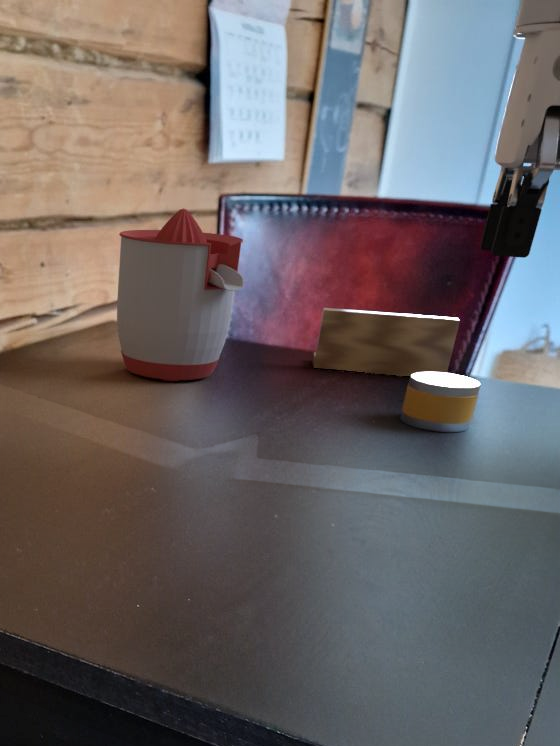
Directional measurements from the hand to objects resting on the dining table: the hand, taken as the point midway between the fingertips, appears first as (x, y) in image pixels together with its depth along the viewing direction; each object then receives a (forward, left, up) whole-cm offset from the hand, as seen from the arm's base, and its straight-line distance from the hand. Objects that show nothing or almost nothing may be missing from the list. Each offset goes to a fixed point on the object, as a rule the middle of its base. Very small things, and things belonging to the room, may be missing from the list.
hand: (503, 251), depth 81 cm
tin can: (0, -11, -19) cm, 22 cm away
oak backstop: (+4, -38, -19) cm, 43 cm away
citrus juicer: (+32, -24, -20) cm, 45 cm away
